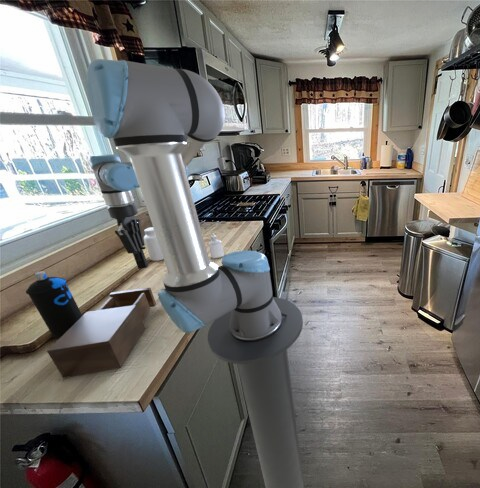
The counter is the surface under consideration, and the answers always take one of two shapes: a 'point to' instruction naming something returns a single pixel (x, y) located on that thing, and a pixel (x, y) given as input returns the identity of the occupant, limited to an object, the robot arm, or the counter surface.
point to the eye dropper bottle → (215, 247)
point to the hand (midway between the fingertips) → (143, 267)
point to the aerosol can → (54, 303)
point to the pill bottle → (152, 245)
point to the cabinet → (98, 341)
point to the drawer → (131, 300)
